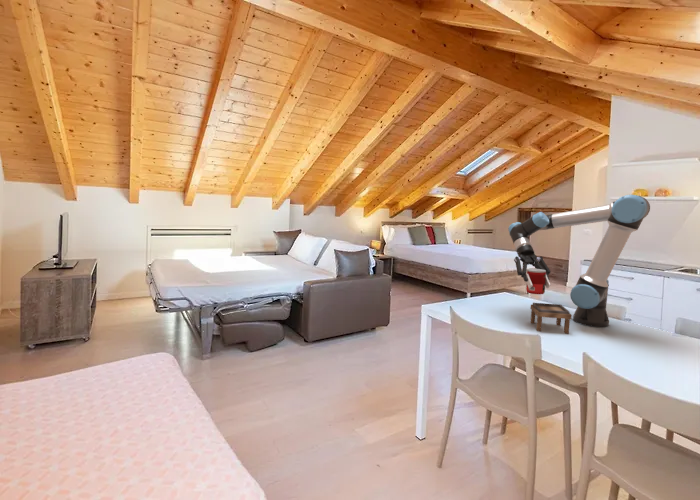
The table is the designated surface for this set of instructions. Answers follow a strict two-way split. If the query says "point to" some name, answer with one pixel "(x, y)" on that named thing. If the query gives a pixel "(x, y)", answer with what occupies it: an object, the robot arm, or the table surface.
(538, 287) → the canned food
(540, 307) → the stool
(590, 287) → the robot arm
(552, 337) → the table surface
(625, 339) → the table surface
